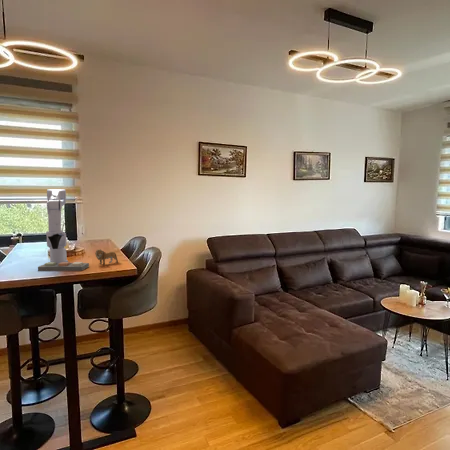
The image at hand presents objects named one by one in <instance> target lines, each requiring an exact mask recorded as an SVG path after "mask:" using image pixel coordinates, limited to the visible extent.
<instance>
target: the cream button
mask: <svg viewBox="0 0 450 450" xmlns="http://www.w3.org/2000/svg"><path fill="white" fill-rule="evenodd" d="M71 263H72V266H81V265H83V263H84V262H83V261H75V262H71Z"/></svg>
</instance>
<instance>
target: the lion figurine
mask: <svg viewBox="0 0 450 450" xmlns="http://www.w3.org/2000/svg"><path fill="white" fill-rule="evenodd" d="M94 253H95V258H96V259H97V260H98V261H99V264H101V265H102V266H105V265H106V260H108V259H110V261H108V263H109V264H112V262H113V260H115V264H118V263H119V260H118V256H117V253H116V252H115V251H109V252H106V251H104V250H102V249H100V248H99V249H96V250H95V252H94Z"/></svg>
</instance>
